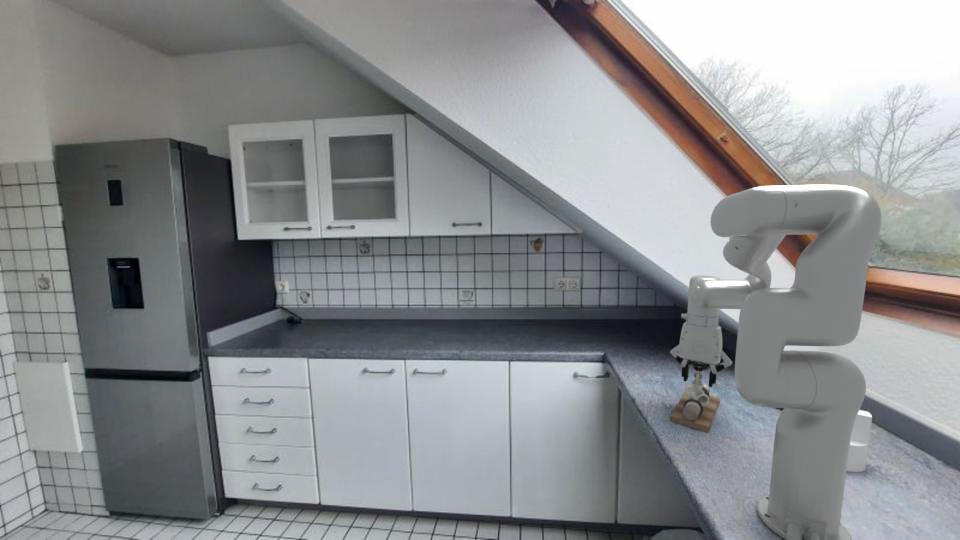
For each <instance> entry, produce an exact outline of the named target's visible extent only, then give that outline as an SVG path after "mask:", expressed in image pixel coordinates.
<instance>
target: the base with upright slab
mask: <svg viewBox="0 0 960 540" xmlns="http://www.w3.org/2000/svg"><path fill="white" fill-rule="evenodd" d="M872 421H873V416H872V414H871V413H870V412H869V411H866V410H862V409H860V410H859V412H858V414H857V416H856V419H855V422H854V425H853V429H852V434H851V440H850V447H849V455H848V460H847V469H846V472H851V473H861V472H865V470H866V468H867V459H868V451H869V445H870V438H871V437H870V436H871V429H872Z"/></svg>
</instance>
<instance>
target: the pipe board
mask: <svg viewBox="0 0 960 540" xmlns="http://www.w3.org/2000/svg"><path fill="white" fill-rule="evenodd" d="M702 383H703V388H702V390H703V391H704V393H705V394H706V395H707V396H708V397H709V403H708V404H707V405H705V406H702V404H701V403H700V402H699V401H698V400H695V399H690V398H689V396H688V395H687V394H686V393H685V392H684V393H683V395H682V397H681V398H680V400H679V401H678V403H677V405H676V407H675V408H674V410H673V411H672V413H671V414H670V418H669V419H670V420H669V421H670V423H671V422H672V423H675V424H678V425H682V426H685V427H688V428H691V429H695V430H698V431H702V432H706V433H710V431H711V427H712V424H713V422H714V419H715V417H716V414H717V411H718V409H719V406H720V403H721V397H718V396H714V395H710V391H711V390H710V389H711V387H709V384H707V383H705V382H702Z"/></svg>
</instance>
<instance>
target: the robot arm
mask: <svg viewBox="0 0 960 540" xmlns="http://www.w3.org/2000/svg"><path fill="white" fill-rule="evenodd" d="M710 227H711V230H712V232H713V233H714V235H716V236H717V237H720V238H728V239H727V241H726V244H725V245H724V247H723V250H722V255H723V258H724V260H725V261H726V262H727V263H728V264H729V265H730V266H732V267H733V268H735V269H737V270H739V271H742V272H744V273H746V274H747V276H746V277H745V278H744V279H728V278H727V279H726V278H725V279H720V278H719V277H717V276H713V275H693V276H692V277H690V279H689V285H688V299H687V312H686V313H681V316H680V318H681V319H683V320H685V322H684V323H683V324H682V328H681V332H680V337H679V344H678V345H676V346H674V347H673V348H672V349H671V350H670V351H669V354H671V356H672V357H673V358H675V360H676V361H677V363H678V364H679V365H680V367H681V377H682V378H683V382H687V381H688V379H689V373H690V372H689V371H690V365H687V361H688V360H692V361H697V362H702V363H703V364H704V363H707V364H709V365H710V368H709V369H710V372H709V375H708V377H709V378H708V386H709V388H713V385H716V383H717V373H719V372H721V371H723V370H724V369H726V368H728V367H730V366H732V364H733V361H732V360H731V359H730V357H728V355H727V354H726V352H724V350H723V333H722V327H721V326H720V325H719V323H720V322H719V319H720V310H725V309H726V310H739V311H740V312H739V316H738V322H737V323H738V324H737V325H738V326H737V338H736V346H735V347H736V348H735V358H734V359H735V360H734V381H735V385H736V389H737V391H738V393H739V395H740V396H741V397H742V399H743V400H744V401H746V402H747V403H748V404H751V405H753V406H757V407H762V408H773V409H774V408H775V409H781V408H784V409H781V410H782V411H781V412H780V413H779V415H778V417H777V420H776V423H775V424H776V425H775V429H774V430H775V431H774V441H773V450H772V459H771V470H770V471H771V473H770V483H769V493H768V494H766V495H763V496H762V497H760V498H758V501H757V505H756V510H757V511H756V512H757V514H758V516H759V518H760V519H761V520H762V522H763V523H764V525H766V526H767V527H768V528H769V529H770V530H771V531H773V533H775V534H776V535H778V536H779V537H781V538H783V539H784V540H852V537H851V534H850V532H849V531H848V529H847V528H846V527H845V525H843V523H842V522H841V516H842V509H843V502H844V501H843V500H844V492H845V483H846V476H847V471H846V469H847V460H848V455H849V447H850V440H851V434H852V429H853V425H854V422H855V419H856V416H857V414H858V412H859V410H861V407H862V404H863V403H864V400H865V398H866V397H865V396H866V391H867V383H866V380H865V378H866V377H865V376H864V373H863V372H862V370H861V369H860V368H859V366H858V365H857V364H856V363H854V362H853V361H852V360H850V359H849V358H847V357H845V356H842V355H839V354H836V353H831V352H827V351H817V350H816V351H815V350H785V347H786V346H792V347H794V346H795V347H797V346H798V347H840V346H846V345H848V344H850V343H852V342H853V341H854V340H856V338H857V336H858V334H859V332H860V331H859V330H860V326H861V320H862V314H863V306H864V300H865V294H866V293H865V291H866V284H867V277H868V276H867V274H868V269H869V262H870V259H871V256H872V253H873V251H874V249H875V248H874V247H875V246H876V243H877V240H878V237H879V235H880V231H881V227H882V212H881V207H880V205H879V203H878V201H877V200H876V198H875V197H874V196H873V195H872V194H871V193H869V192H868V191H866V190H864V189H862V188H859V187H856V186H850V185H844V184H797V185H796V184H795V185H794V184H793V185H789V184H787V185H764V186H763V185H762V186H756V187H755V186H754V187H752V188H748V189H744V190H742V191H738V192H736V193H732V194H730V195H727V196H725V197H723V198H722V199H720V200H719V201H718V203H717V204H716V205H715V206H714V208H713V210H712V213H711V215H710ZM793 235H794V236H795V235H814V236H817V237H816V238H814V239H813V240H812V241H811V242H810V243H809V244H808V245H807V246H806V247H805V248H804V250H803V251H802V252H801V253H800V255H799V256H798V258H797V261H796V264H795V273H794V274H795V275H794V280H793V284H792V285H791V287H771V285H772V271H771V268H770V265H769V263H768V262H767V261H768V260H769V259H770V257H771V256H772V255H773V253H774V252H775V251H776V250H777V248H778V247H779V245H780V244H781V243H782V241H783V239H785V238H786V236H793ZM721 359H722V360H723V362H721ZM720 362H721V363H720Z"/></svg>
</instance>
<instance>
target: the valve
mask: <svg viewBox="0 0 960 540" xmlns="http://www.w3.org/2000/svg"><path fill="white" fill-rule="evenodd" d="M687 365H688V366H691V365H693V366H692V368H693V370H694V371H695V372H694V374H693V378H694V379H693V380H691V383H689V384H688V385H685V386H684V393H686V394H687V395H688V396H689V398H690V399H695V400H698V401H699V402H700V403H701V404H702V406H705V405H707V404H708V403H709V397H708V396H707V395H706V394H705V393H704V391H703V390H702V388H703V383H704V382H702V377H703V374H702V373H701V372H703V371H706V370H708V369H711V368H710V365H709V364H707V363H702V362H697V361H692V360H688V361H687Z"/></svg>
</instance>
